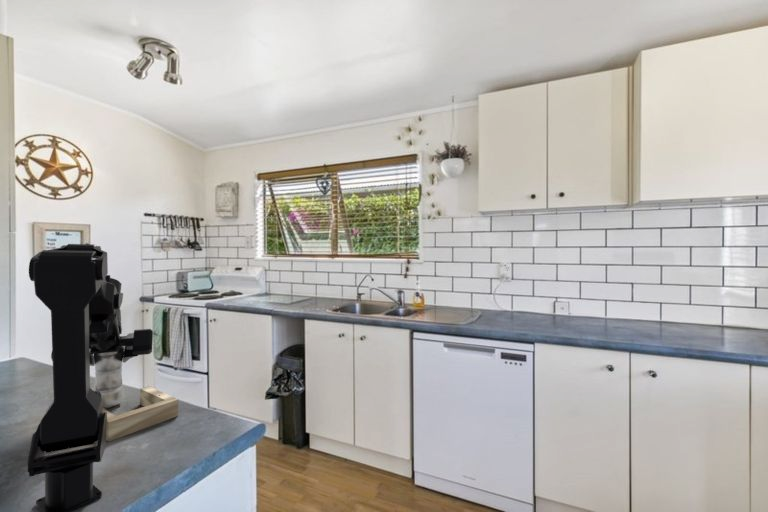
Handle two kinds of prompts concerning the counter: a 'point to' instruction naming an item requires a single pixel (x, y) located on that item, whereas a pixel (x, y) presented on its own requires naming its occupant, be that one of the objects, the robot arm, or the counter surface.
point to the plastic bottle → (109, 377)
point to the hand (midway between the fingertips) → (109, 362)
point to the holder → (142, 414)
